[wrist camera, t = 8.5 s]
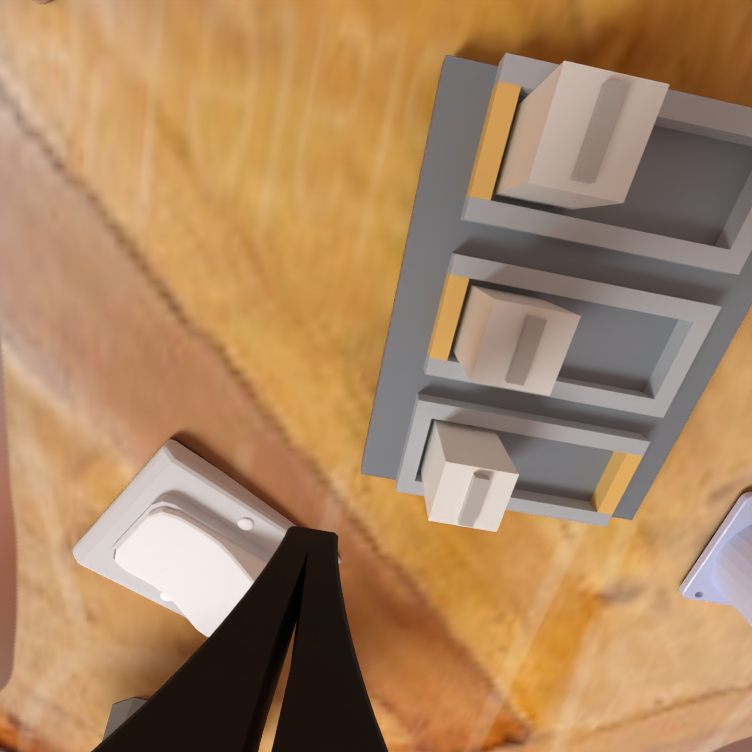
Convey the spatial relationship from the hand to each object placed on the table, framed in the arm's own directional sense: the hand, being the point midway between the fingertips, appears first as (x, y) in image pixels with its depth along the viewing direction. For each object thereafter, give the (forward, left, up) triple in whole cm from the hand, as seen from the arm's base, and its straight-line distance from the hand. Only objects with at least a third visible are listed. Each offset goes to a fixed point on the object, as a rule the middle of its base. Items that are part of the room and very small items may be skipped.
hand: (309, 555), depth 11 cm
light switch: (+7, +12, -10) cm, 17 cm away
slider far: (-6, 0, -8) cm, 10 cm away
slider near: (-6, -12, -8) cm, 16 cm away
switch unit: (-9, -6, -10) cm, 14 cm away
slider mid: (-6, -6, -8) cm, 12 cm away
